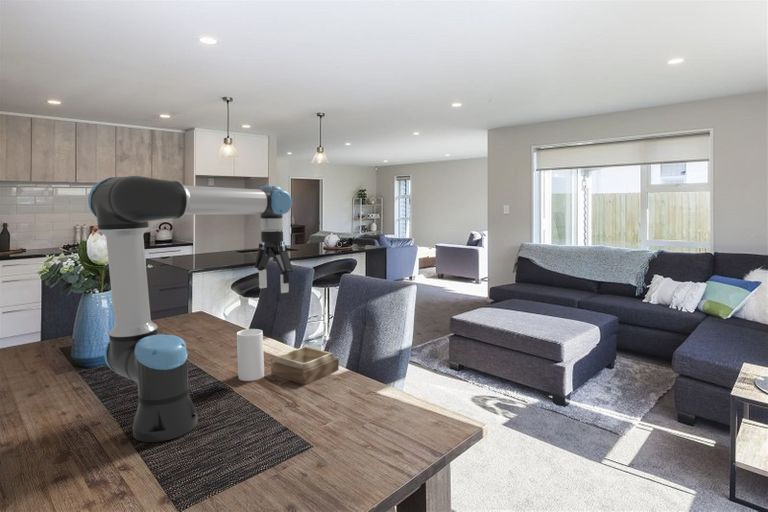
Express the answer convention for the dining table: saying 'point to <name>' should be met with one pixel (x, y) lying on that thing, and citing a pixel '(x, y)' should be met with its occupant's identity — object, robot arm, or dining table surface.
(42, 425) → the dining table surface
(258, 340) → the cup
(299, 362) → the birch crate
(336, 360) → the box
